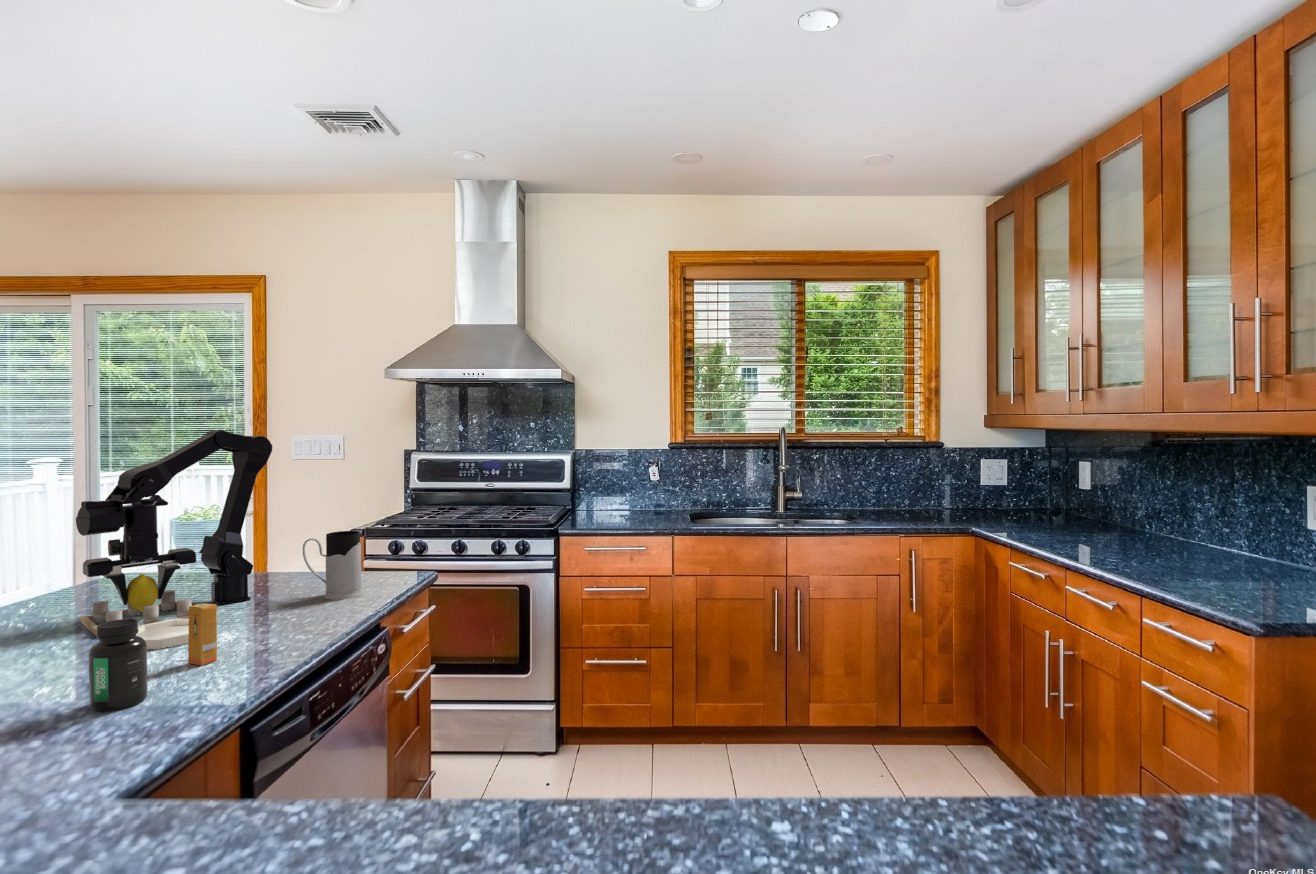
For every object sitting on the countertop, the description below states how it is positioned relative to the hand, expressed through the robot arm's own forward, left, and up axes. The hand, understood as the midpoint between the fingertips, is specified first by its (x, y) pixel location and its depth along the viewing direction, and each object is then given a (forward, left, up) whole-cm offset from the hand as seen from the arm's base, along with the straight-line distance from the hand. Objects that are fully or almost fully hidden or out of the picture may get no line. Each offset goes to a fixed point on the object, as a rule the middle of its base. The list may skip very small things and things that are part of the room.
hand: (142, 602), depth 149 cm
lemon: (0, 0, -2) cm, 2 cm away
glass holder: (-36, +9, -4) cm, 37 cm away
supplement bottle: (+14, +51, -4) cm, 53 cm away
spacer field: (0, 0, -4) cm, 4 cm away
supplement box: (0, +40, -4) cm, 40 cm away
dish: (0, +19, -4) cm, 19 cm away
